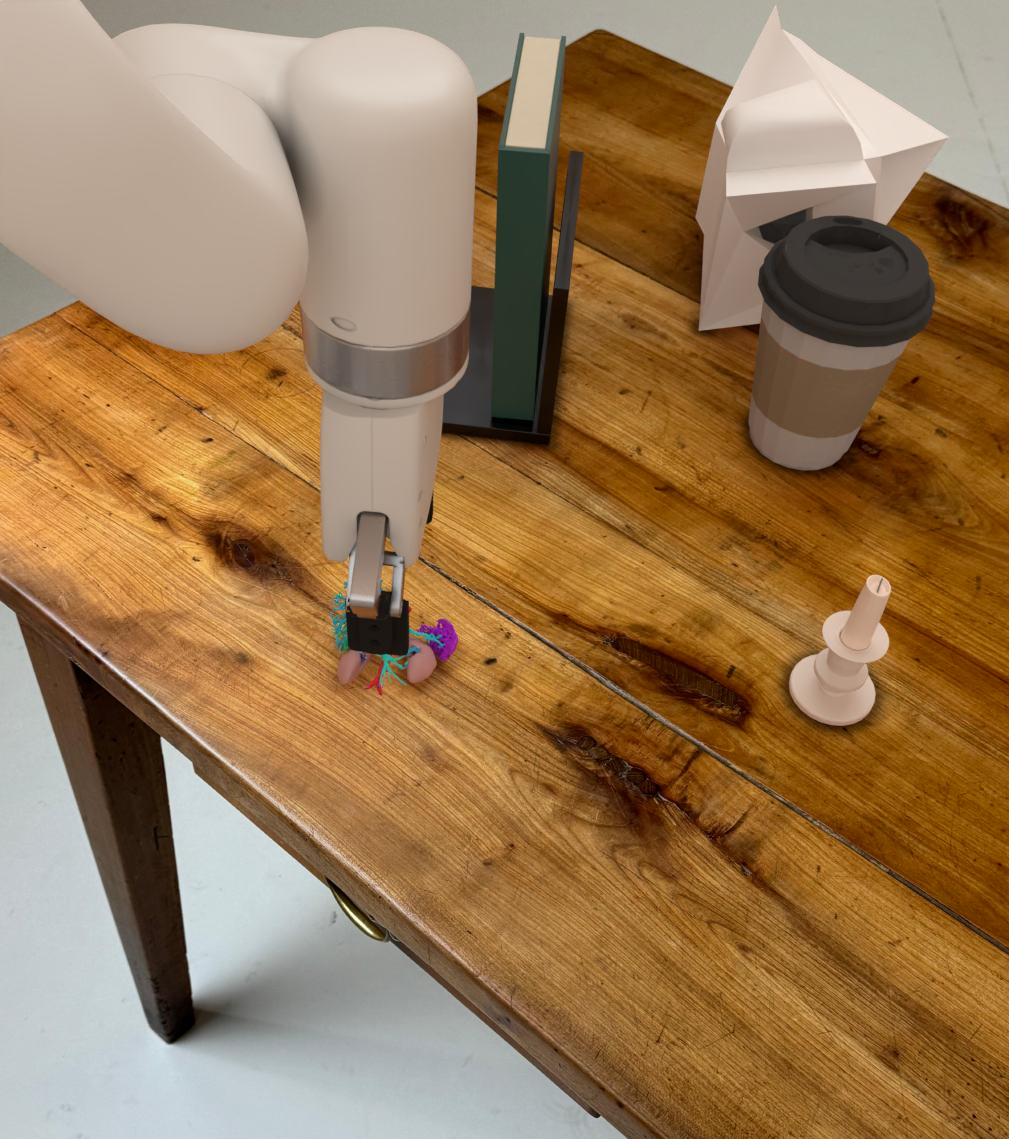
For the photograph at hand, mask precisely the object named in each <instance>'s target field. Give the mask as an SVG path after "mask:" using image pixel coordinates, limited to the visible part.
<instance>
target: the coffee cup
mask: <svg viewBox="0 0 1009 1139" xmlns="http://www.w3.org/2000/svg"><path fill="white" fill-rule="evenodd" d="M758 287H759V289H760V292H761V294H762V297H763V305H762V314H761V322H760V324H759V331H758V338H757V348H756V356H755V364H754V372H753V379H752V380H753V381H752V389H751V395H750V405H749V411H748V412H749V413H748V422H747V423H748V427H749V437H750V440H751V442H752V445H754V447H755V448H756V449H757V451H759V453H760V454H761V455H763V456H764V457H765V458H766V459H768V460H769V461H771V462H773V463H775V464H777V465H780V466H783V467H785V468H788V469H792V470H799V471H819V470H822V469H825V468H828V467H831V466H833V465H834V464H835V463H837V462H838V461H839V460H841V458H842V457H843V455H844V454H845V453H847V452H848V451H849V449H850V448H851V445H852V444H853V442H854V440H855V439H856V436H857V435H858V433H859V431H860V429H861V427H862V426H863V424H864V422H865V421H866V418H867V417H868V415H869V413H870V412H871V410H872V408H873V406H874V404H875V403H876V401H877V399H878V397H879V395H880V394H881V392H882V390H883V388H884V387H885V385H886V383H887V381H888V379H889V378H890V376H891V374H892V372H893V371H894V369H895V367H896V365H897V363H898V362H899V359H900V358H901V356H902V354H903V352H904V351H905V349H906V347H907V346H908V343H909V342H910V341H911V339H912V338H914V337H916V335H918V334H920V333H921V332H923V330H925V329H926V327H927V326H928V324H929V322H930V320H931V318H932V317H933V315H934V309H933V308H934V305H935V304H936V292H935V291H936V290H935V289H936V288H935V287H936V286H935V282H934V281H933V278H932V277H931V275H930V264H929V261H928V260H927V258H926V256H925V254H924V252H923V250H922V249H921V248H920V247H919V246H918V245H917V244H916V243H915V242H914V241H913V240H911V238H910V237H908V236H907V235H906V234H904V233H902V232H901V231H898V230H896V229H895V228H893V227H891V226H890V225H888V224H887V225H884V224H881V223H879V222H876V221H873V220H870V219H865V218H859V217H853V216H847V215H844V216H823V217H819V218H815V219H811V220H807V221H805V222H803V223H801V224H799V225H798V226H796V227H794V228H793V229H792V230H791V231H790V233H789V234H788V235H787V237H785V238H783V239H782V240H780V241H778V242H776V243H775V244H774V246H773V247H772V248H771V250H770V251H769V253H768V254H767V255H766V257H765V258H764V263H763V265H762V266H761V267H760V269H759V278H758Z"/></svg>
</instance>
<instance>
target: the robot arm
mask: <svg viewBox="0 0 1009 1139" xmlns="http://www.w3.org/2000/svg"><path fill="white" fill-rule="evenodd" d="M478 119H479V118H478V94H477V89H476V85H475V82H474V79H473V77H472V75H471V72H470V70H469V68H468V66H467V65H466V64H465V63H464V61H463V60H462V58H461V57H460V56H459V55H458V53H456V52H455V51H453V49H451V48H450V47H448V46H447V45H445V44H444V43H443V42H441V41H439V40H437V39H435V38H434V37H431V36H429V35H426V34H424V33H421V32H418V31H414V30H410V29H406V28H399V27H392V26H360V27H359V26H358V27H352V28H347V29H342V30H338V31H335V32H332V33H329V34H326V35H324V36H321V37H317V38H316V37H315V38H314V37H303V36H302V37H301V36H288V35H282V34H281V35H280V34H273V33H272V34H271V33H265V32H256V31H247V30H240V29H234V28H226V27H220V26H212V25H205V24H203V25H202V24H194V23H193V24H192V23H178V22H177V23H175V22H171V23H155V24H147V25H143V26H139V27H136V28H132V29H129V30H126V31H124V32H121V33H119V34H118V35H116V36H114V37H113V38H111V37H110V36H109V34H108V33H107V32H106V31H105V30H104V28H103V27H102V26H101V25H100V24H99V22H98V21H97V20H96V19H95V18H94V17H93V15H92V14H91V12H90V11H89V10H88V9H87V7H86V6H85V5H84V3H83V2H82V0H0V244H2V245H3V246H4V247H5V248H6V249H8V250H9V251H10V252H11V253H13V254H14V255H16V256H17V257H18V258H20V259H21V260H23V261H24V262H25V263H26V264H28V265H30V266H31V267H32V268H34V269H35V270H36V271H37V272H39V273H40V274H42V275H43V276H44V277H46V278H48V280H50V281H52V282H53V283H54V284H55V285H57V286H58V287H60V288H61V289H63V290H64V291H66V292H67V293H68V294H69V295H71V296H73V297H74V298H75V299H76V300H78V301H79V302H81V303H82V304H84V305H85V306H86V307H88V308H89V309H91V310H92V311H94V312H95V313H97V314H98V315H100V316H101V317H103V318H104V319H107V320H108V321H110V322H111V323H113V324H114V325H116V326H117V327H119V328H121V329H122V330H124V331H126V332H128V333H131V334H132V335H135V336H137V337H139V338H141V339H144V340H145V341H146V342H147V341H148V342H149V343H152V344H154V345H157V346H160V347H163V348H167V349H170V350H172V351H177V352H181V353H187V354H193V355H196V354H197V355H223V354H228V353H232V352H237V351H241V350H244V349H247V348H249V347H252V346H253V345H256V344H258V343H259V344H260V342H262V341H263V340H265V339H266V338H268V337H269V336H271V335H272V334H274V333H276V331H277V330H279V328H280V327H281V326H282V325H283V324H284V323H285V322H286V321H287V320H288V318H289V317H290V315H291V314H292V312H293V311H294V309H295V307H296V306H297V304H298V303H299V314H300V324H301V334H302V336H301V337H302V346H303V356H304V357H303V358H304V364H305V367H306V370H307V372H308V374H309V375H310V377H311V378H312V380H313V381H314V382H315V383H316V384H317V385H318V386H319V387H320V388H321V389H322V395H321V408H320V423H319V424H320V428H319V430H320V431H319V483H320V484H319V486H320V487H319V488H320V489H319V490H320V493H319V494H320V517H321V518H320V522H321V524H320V525H321V526H320V527H321V550H322V553H323V555H324V557H325V558H326V559H327V560H328V561H330V562H337V563H345V562H346V561H347V559H348V567H347V568H348V570H347V581H346V582H347V588H346V594H345V600H344V602H345V612H346V622H345V624H346V625H347V633H346V634H347V639H348V645H347V646H348V647H349V650H353V651H360V652H367V653H370V654H373V655H374V654H377V655H376V656H378V655H380V656H382V655H385V654H388V655H392V656H398V657H402V656H404V657H405V655H407V654H408V649H409V636H410V633H409V627H410V613H409V606H410V600H407V599H405V598H404V594H405V581H406V571H407V569H409V568H411V567H412V566H414V565H415V564H416V563H417V562H418V561H419V558H420V554H421V549H422V544H423V541H424V535H425V531H426V527H427V525H429V524H431V523H432V521H433V518H434V517H433V516H434V492H435V491H434V488H435V482H436V476H437V471H438V465H439V459H440V451H441V443H442V442H441V441H442V434H443V433H442V420H443V398H444V394H445V393H446V392H448V391H449V390H450V389H452V388H453V387H454V386H455V385H456V384H457V383H458V381H459V380H460V379H461V378H462V376H463V375H464V373H465V371H466V368H467V365H468V360H469V335H470V308H471V286H472V280H473V278H472V277H473V250H474V248H473V247H474V226H475V224H474V222H475V221H474V220H475V196H476V171H477V146H478V145H477V144H478ZM388 537H389V544H390V545H391V547H392V549H393V551H391V550H386V542H387V538H388ZM383 566H385V567H392V575H391V576H392V578H391V589H390V591H389V590H386V591H381V590H380V582H381V580H382V571H383Z"/></svg>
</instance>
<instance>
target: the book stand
mask: <svg viewBox="0 0 1009 1139" xmlns="http://www.w3.org/2000/svg"><path fill="white" fill-rule="evenodd" d="M584 155H585V152H584V151H578V150H569V156H568V162H567V170H566V179H565V186H564V195H563V205H562V213H561V220H560V228H559V237H558V246H557V253H556V262H555V271H554V280H553V286H552V294H549V299H548V307H547V315H546V324H545V332H544V340H543V348H542V356H541V364H540V373H539V381H538V389H537V397H536V405H535V413H534V420H521V419H510V418H498V417H491V397H492V361H493V324H494V288H495V287H486V286H478V285H471V308H470V335H469V360H468V365H467V368H466V371H465V373H464V375H463V376H462V378H461V379H460V380H459V381H458V383H457V384H456V385H455V386H454V387H453V388H452V389H450V390H449V391H448V392H446V393H445V394H444V398H443V420H442V433H441V434H449V435H457V436H464V437H465V436H466V437H475V438H483V439H490V440H491V439H492V440H501V441H509V442H517V443H525V444H532V445H533V444H535V445H541V446H550V444H551V442H550V441H551V437H552V428H553V420H554V413H555V405H556V396H557V389H558V381H559V373H560V366H561V360H562V358H561V357H562V350H563V349H562V348H563V343H564V342H563V341H564V335H565V326H566V319H567V318H566V317H567V311H568V303H569V295H570V287H571V277H572V269H573V258H574V249H575V240H576V231H577V222H578V212H579V204H580V203H579V202H580V194H581V185H582V184H581V183H582V174H583V166H584Z"/></svg>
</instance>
